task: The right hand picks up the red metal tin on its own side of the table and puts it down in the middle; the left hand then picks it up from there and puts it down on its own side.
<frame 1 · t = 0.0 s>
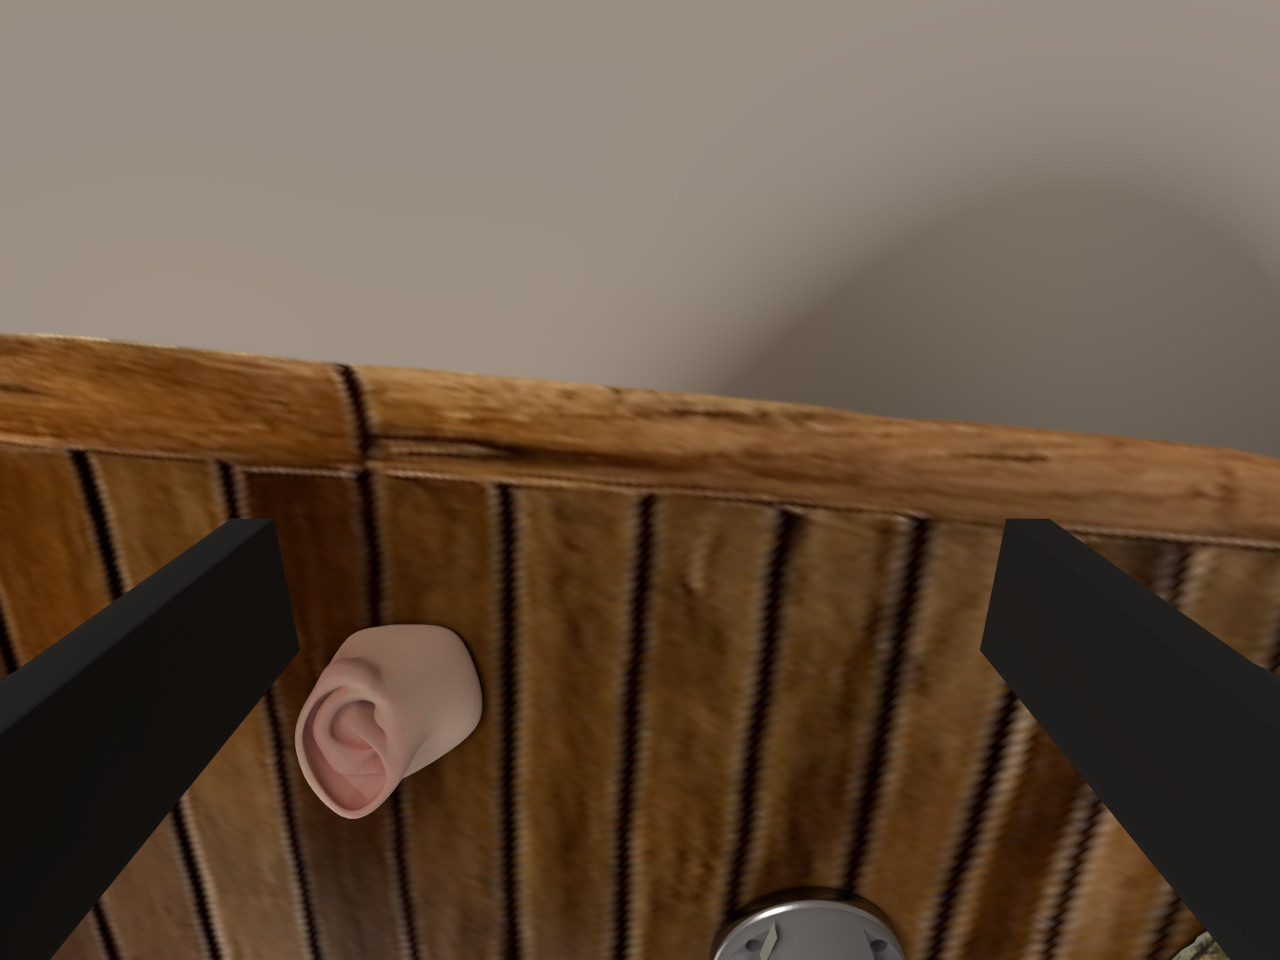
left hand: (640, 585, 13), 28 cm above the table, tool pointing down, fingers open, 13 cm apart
anatomical model: (397, 698, 47), on the table
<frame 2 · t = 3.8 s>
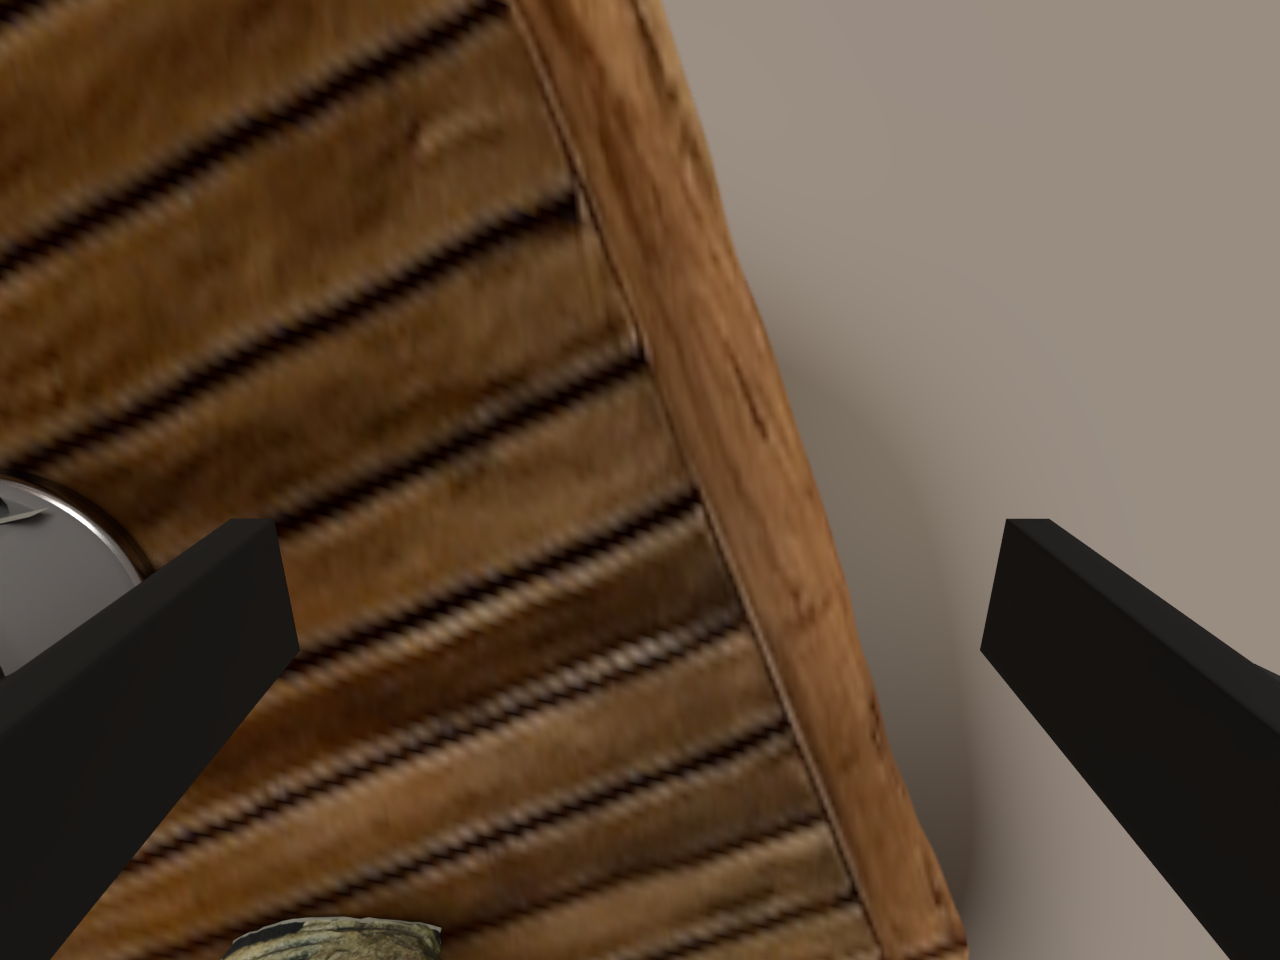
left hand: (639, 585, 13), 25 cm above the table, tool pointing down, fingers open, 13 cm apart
fossil: (351, 946, 51), on the table
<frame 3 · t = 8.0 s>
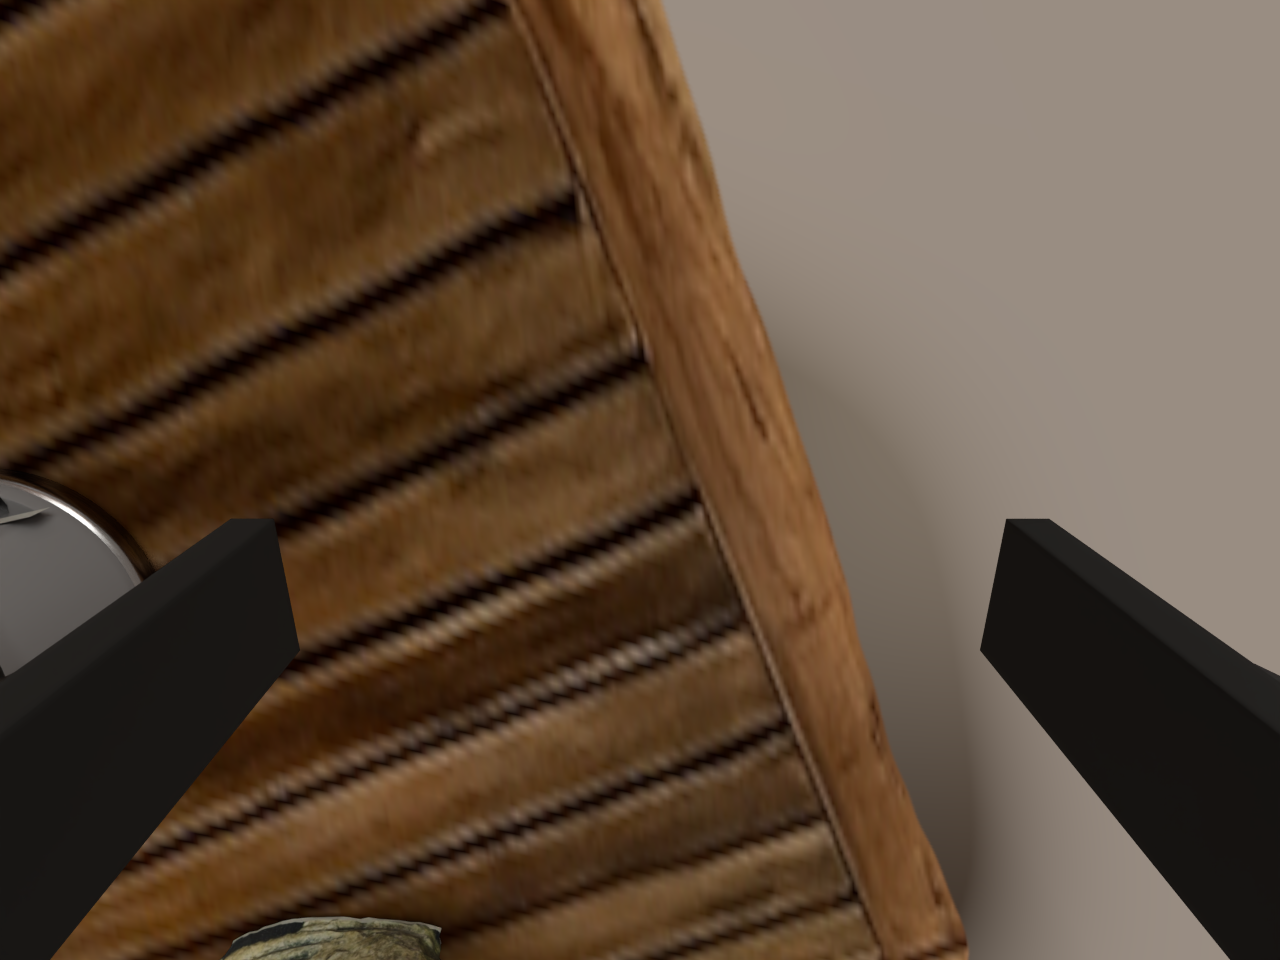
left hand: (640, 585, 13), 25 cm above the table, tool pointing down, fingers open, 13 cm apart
fossil: (351, 946, 51), on the table
when the right hand's fingers open (3 cm above the table, at t = 12.3 s): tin drops 1 cm, on the table.
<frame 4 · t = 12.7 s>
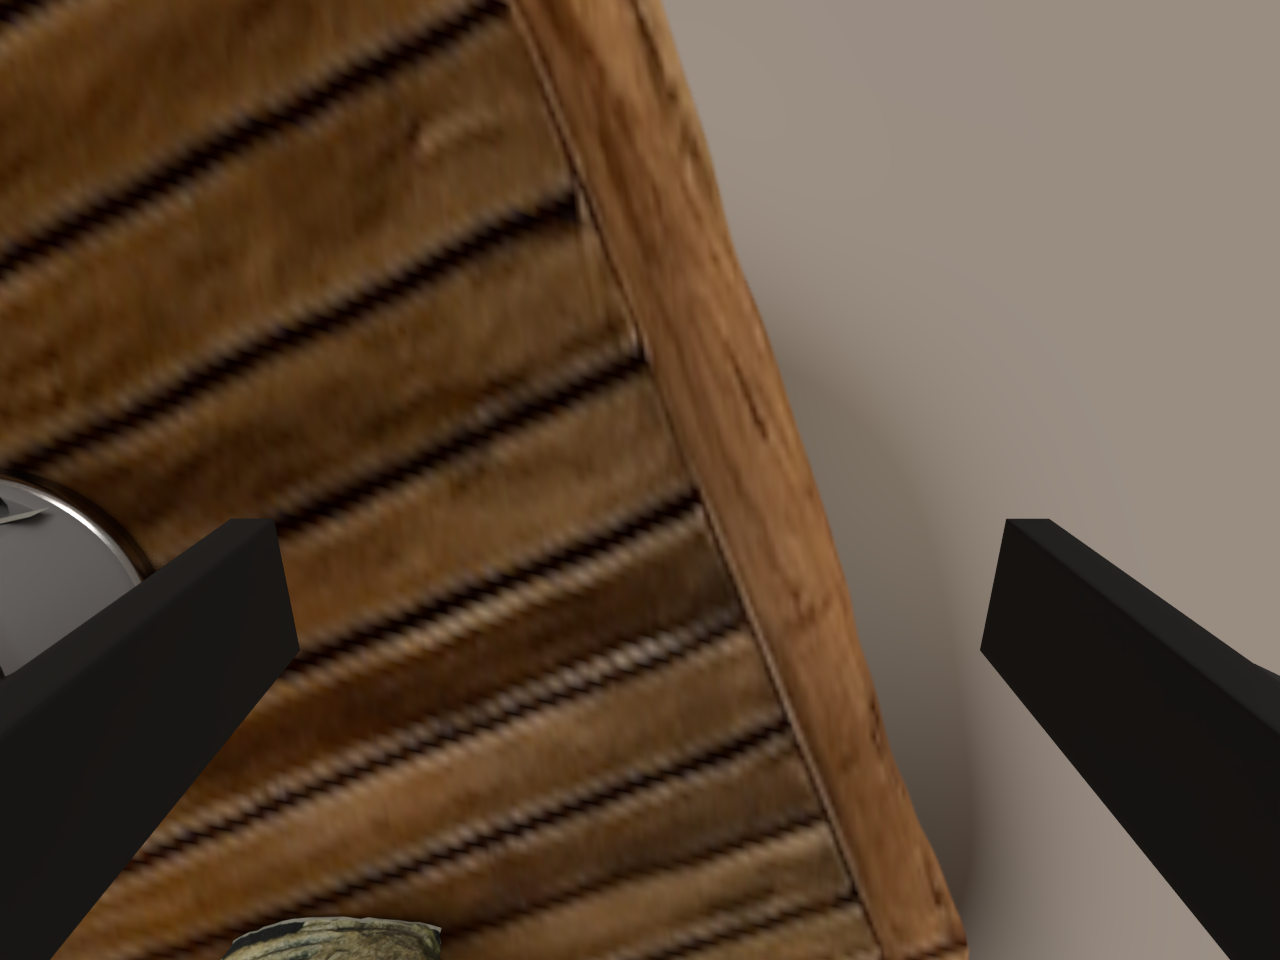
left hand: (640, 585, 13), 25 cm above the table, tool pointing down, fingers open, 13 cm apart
fossil: (351, 946, 51), on the table
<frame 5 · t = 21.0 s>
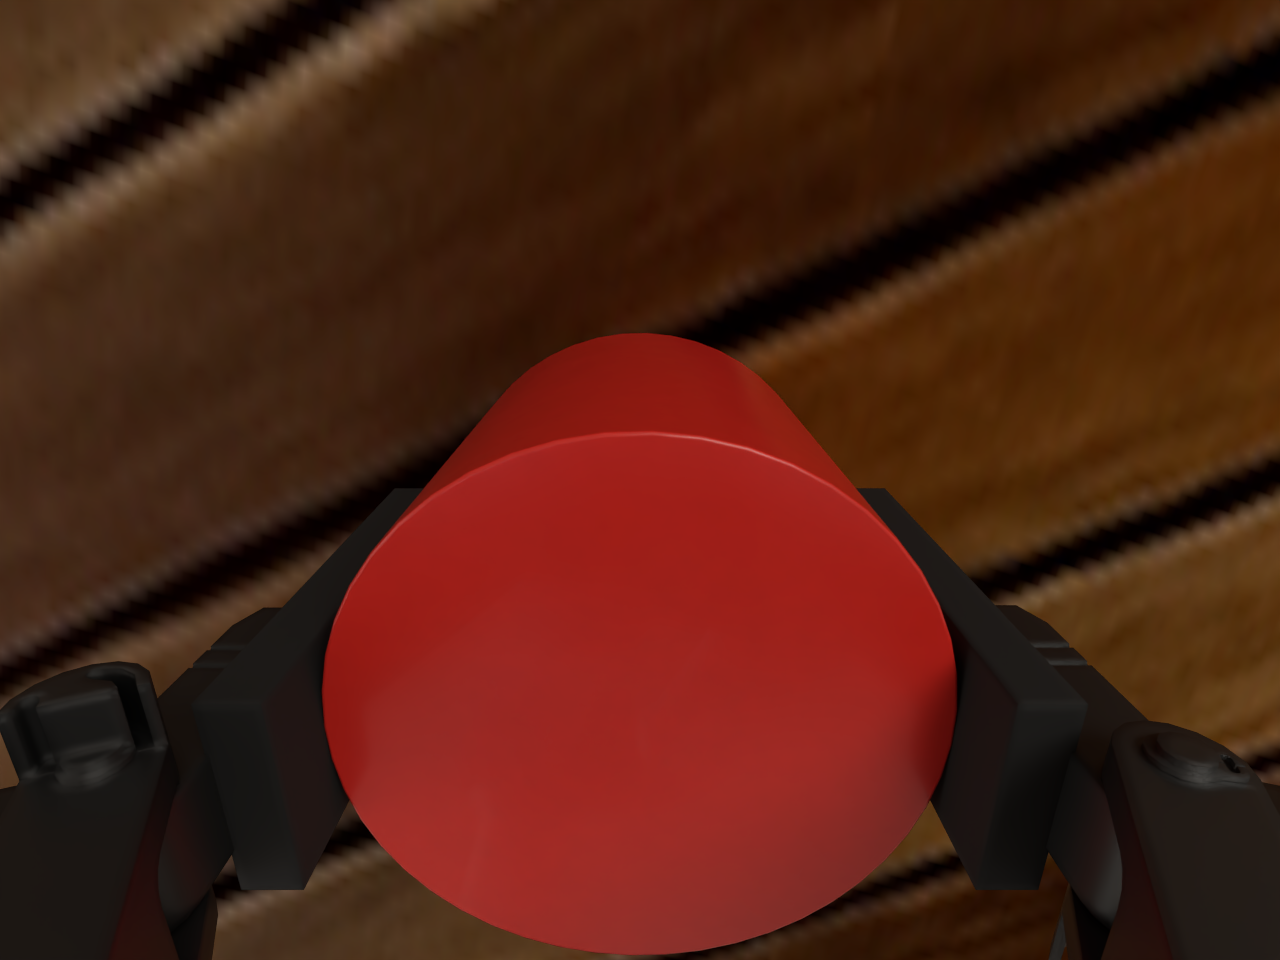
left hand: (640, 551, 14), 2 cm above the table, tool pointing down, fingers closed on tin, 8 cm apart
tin: (639, 509, 16), on the table, touching left hand
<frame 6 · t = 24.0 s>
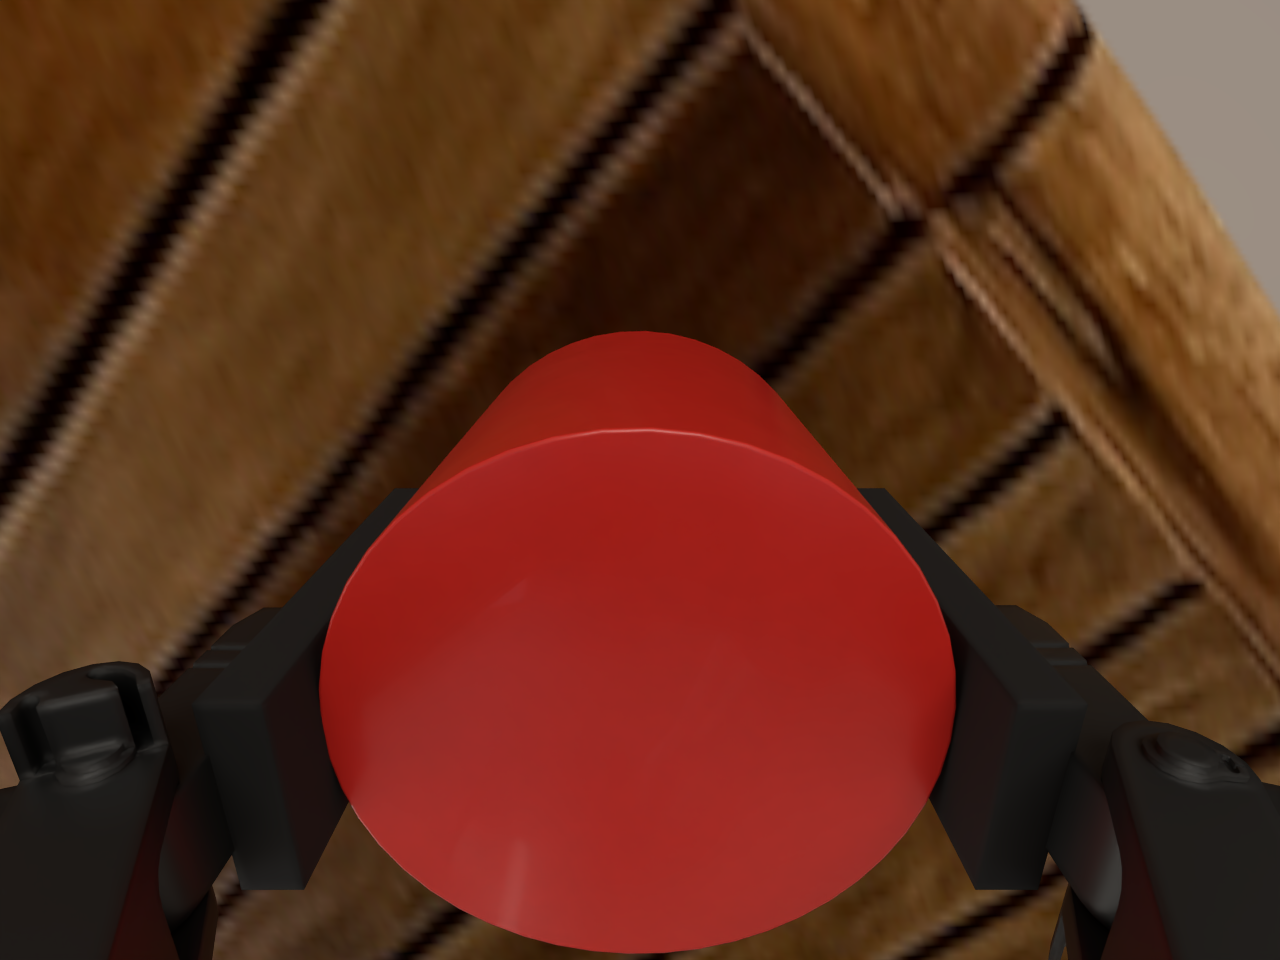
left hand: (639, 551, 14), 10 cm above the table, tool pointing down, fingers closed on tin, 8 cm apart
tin: (638, 508, 16), point 8 cm above the table, touching left hand
when the left hand's fingers open (3 cm above the table, at t = 27.2 s): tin drops 1 cm, on the table.
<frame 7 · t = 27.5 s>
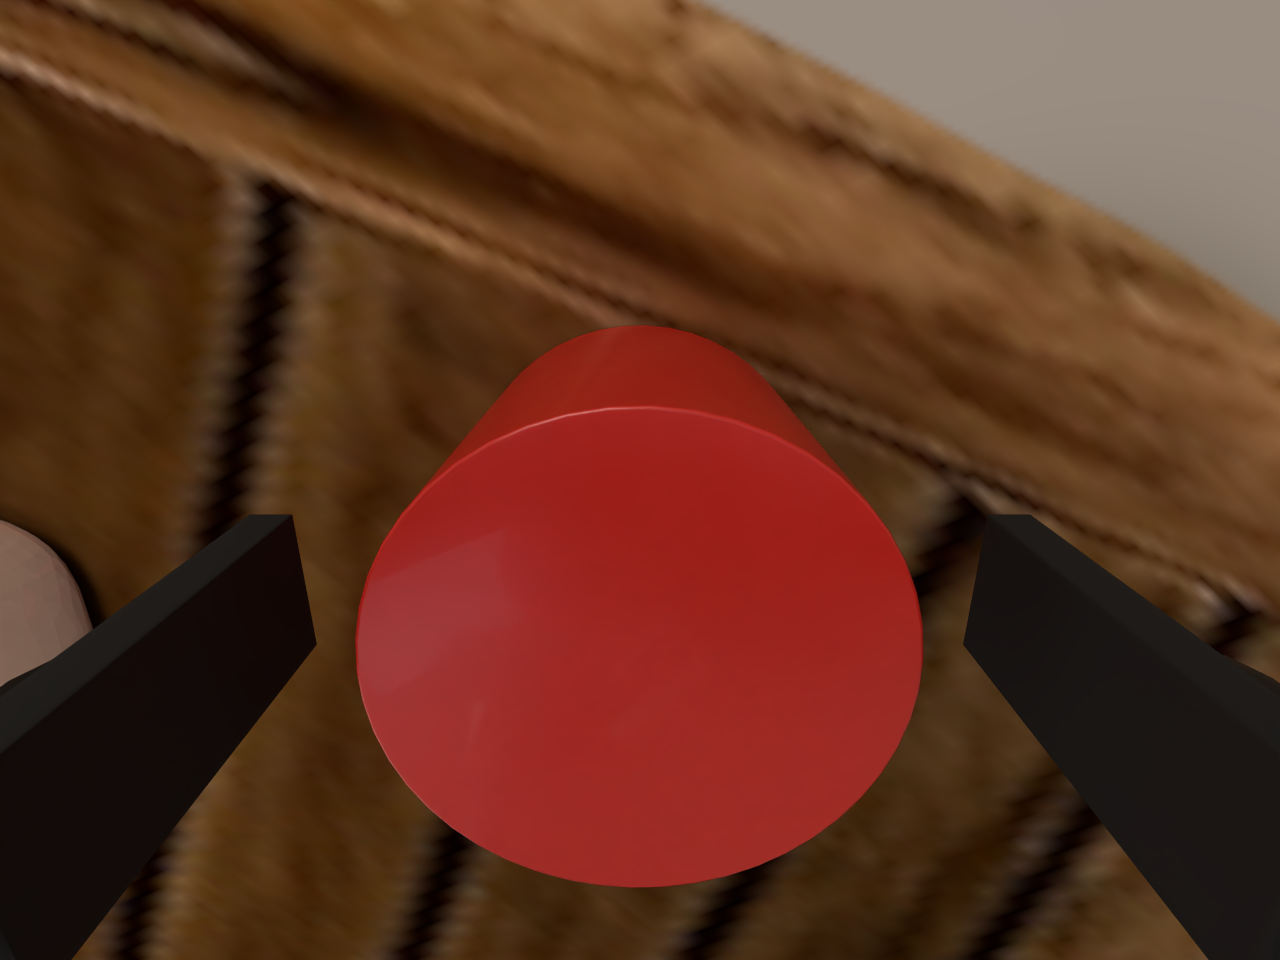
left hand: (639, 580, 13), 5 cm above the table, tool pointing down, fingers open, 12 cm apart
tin: (639, 491, 17), on the table
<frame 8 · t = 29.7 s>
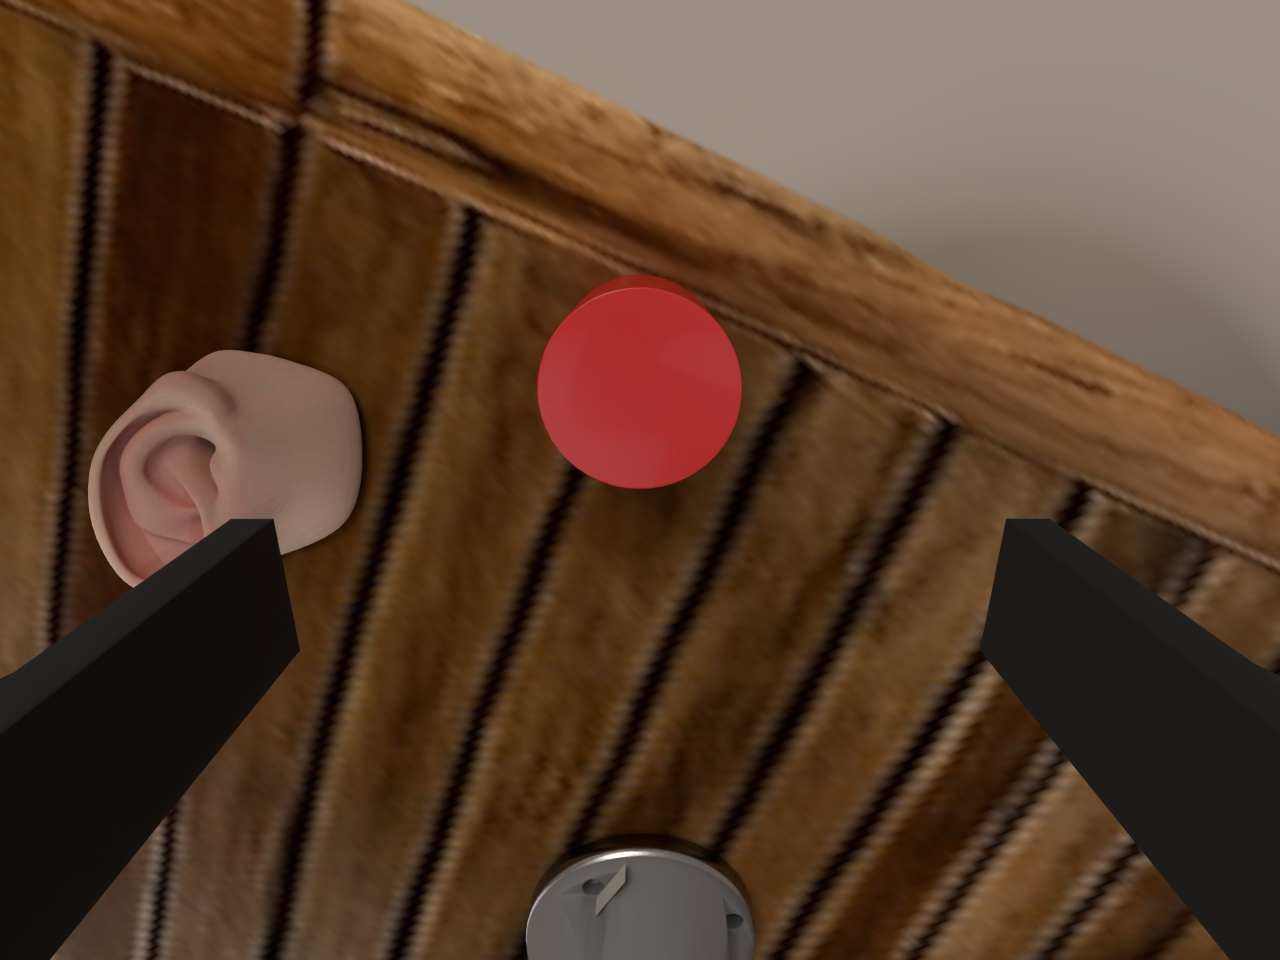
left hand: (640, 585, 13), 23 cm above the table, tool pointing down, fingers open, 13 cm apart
anatomical model: (248, 460, 36), on the table
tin: (639, 359, 34), on the table
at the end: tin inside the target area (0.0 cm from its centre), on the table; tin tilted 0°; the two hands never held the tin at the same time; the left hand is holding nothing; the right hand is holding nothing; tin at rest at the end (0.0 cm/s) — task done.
